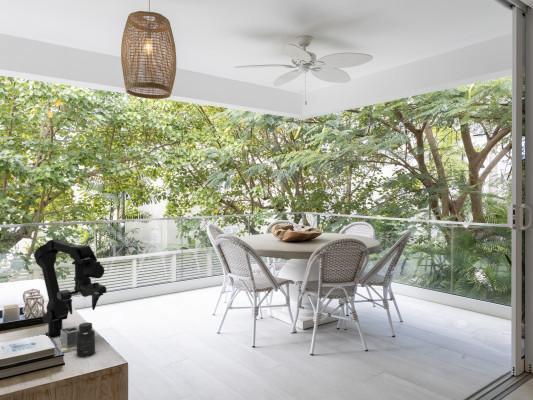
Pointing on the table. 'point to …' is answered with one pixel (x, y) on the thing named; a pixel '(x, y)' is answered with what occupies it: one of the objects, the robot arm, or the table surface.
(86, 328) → the supplement bottle
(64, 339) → the hollow square tube
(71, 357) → the table surface
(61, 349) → the shaft plate
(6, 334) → the table surface
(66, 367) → the table surface
